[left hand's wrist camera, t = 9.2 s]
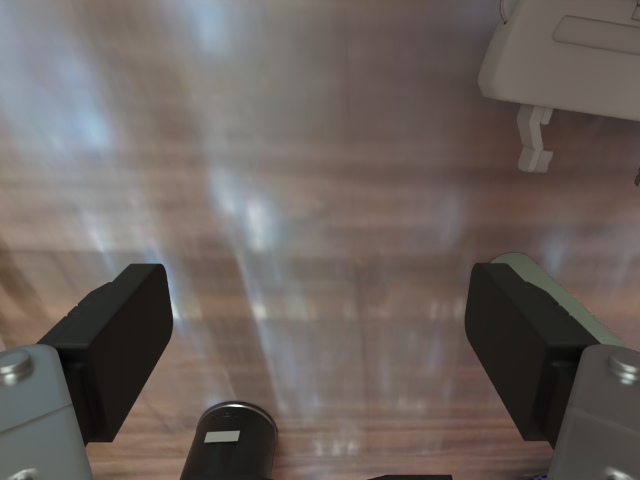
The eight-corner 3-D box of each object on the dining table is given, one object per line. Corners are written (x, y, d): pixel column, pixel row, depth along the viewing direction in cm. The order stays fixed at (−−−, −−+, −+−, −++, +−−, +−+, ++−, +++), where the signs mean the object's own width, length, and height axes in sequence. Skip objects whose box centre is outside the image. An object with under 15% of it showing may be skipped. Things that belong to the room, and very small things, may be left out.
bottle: (546, 279, 42) (710, 434, 24) (499, 309, 43) (623, 476, 26) (519, 241, 40) (673, 377, 23) (471, 273, 42) (582, 425, 24)
